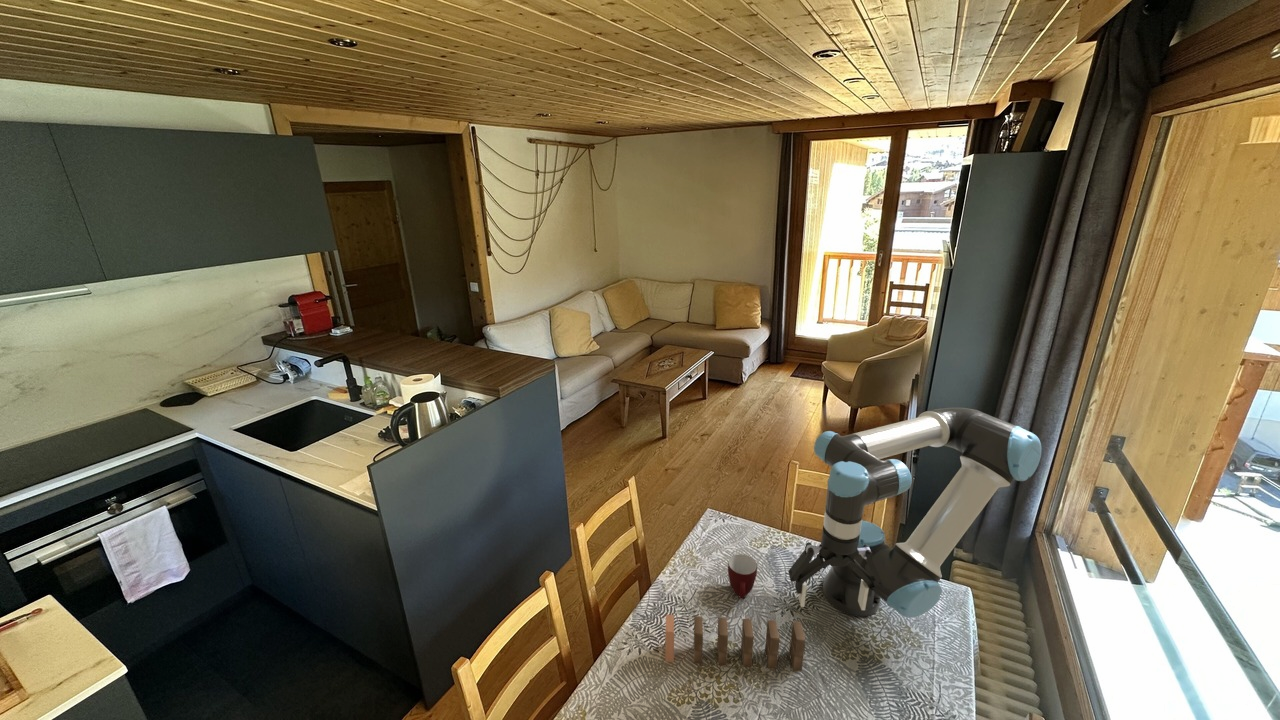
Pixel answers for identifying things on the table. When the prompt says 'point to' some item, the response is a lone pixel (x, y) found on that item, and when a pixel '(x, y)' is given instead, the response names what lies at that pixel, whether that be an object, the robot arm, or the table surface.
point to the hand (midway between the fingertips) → (831, 604)
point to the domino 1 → (669, 638)
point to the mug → (742, 574)
